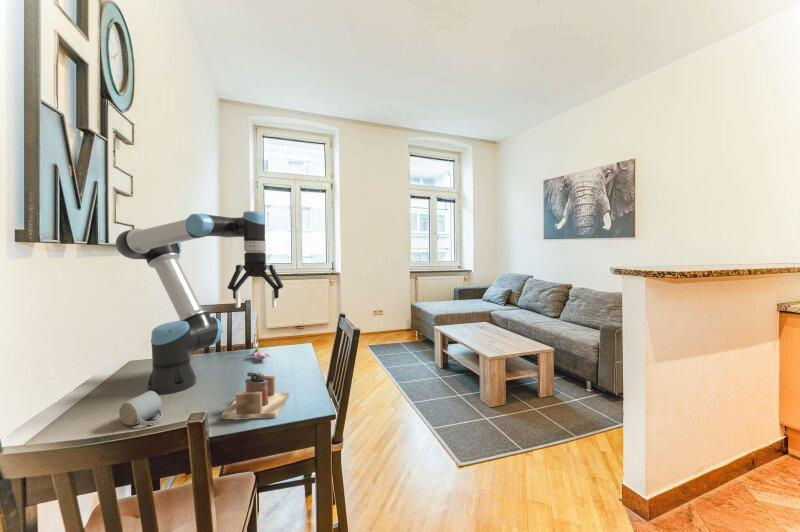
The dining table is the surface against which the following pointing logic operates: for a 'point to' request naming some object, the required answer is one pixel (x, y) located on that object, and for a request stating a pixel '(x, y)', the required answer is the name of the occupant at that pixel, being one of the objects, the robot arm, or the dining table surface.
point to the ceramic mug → (141, 409)
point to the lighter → (257, 385)
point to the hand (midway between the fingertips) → (256, 307)
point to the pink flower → (258, 355)
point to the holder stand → (256, 403)
